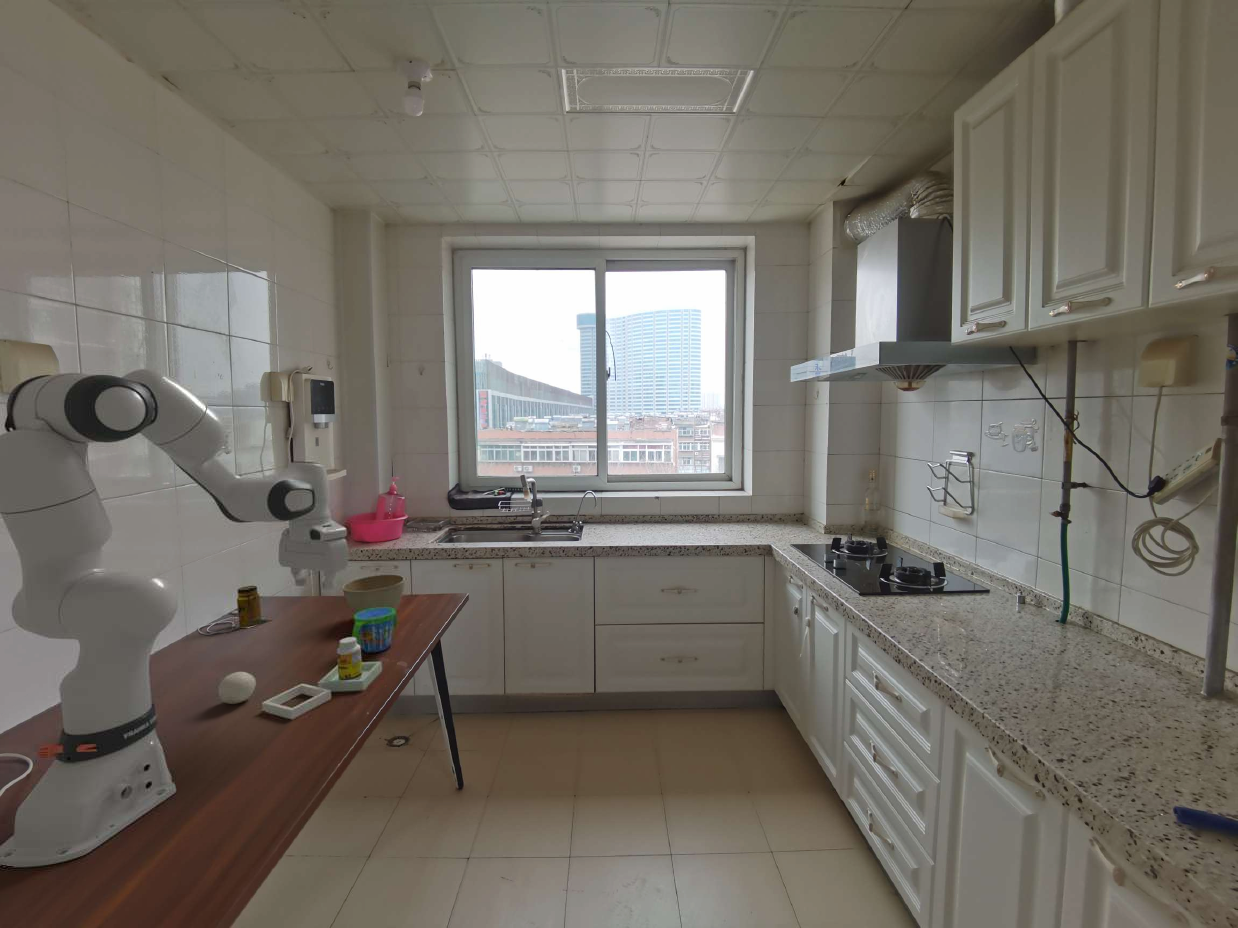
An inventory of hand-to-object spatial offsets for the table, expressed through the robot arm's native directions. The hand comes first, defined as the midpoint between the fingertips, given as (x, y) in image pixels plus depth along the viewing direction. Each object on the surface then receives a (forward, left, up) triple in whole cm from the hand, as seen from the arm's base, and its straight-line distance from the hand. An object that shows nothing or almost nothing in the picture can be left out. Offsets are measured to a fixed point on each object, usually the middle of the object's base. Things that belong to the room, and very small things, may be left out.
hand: (313, 587), depth 134 cm
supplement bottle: (+1, -6, -24) cm, 24 cm away
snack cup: (+22, -4, -24) cm, 33 cm away
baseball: (-6, +16, -24) cm, 30 cm away
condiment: (+47, +46, -24) cm, 70 cm away
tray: (+2, -6, -24) cm, 25 cm away
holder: (-9, +1, -24) cm, 26 cm away
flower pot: (+46, +6, -24) cm, 52 cm away
